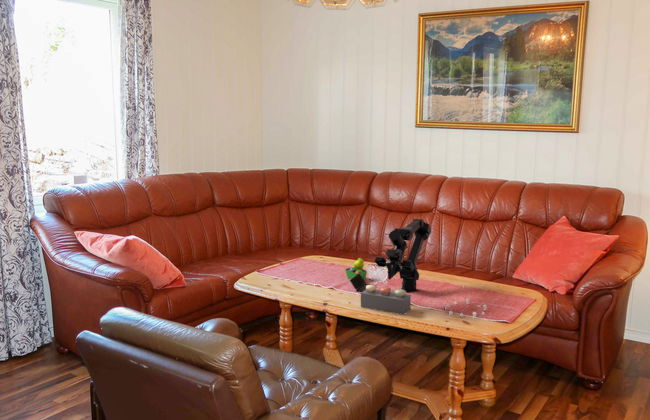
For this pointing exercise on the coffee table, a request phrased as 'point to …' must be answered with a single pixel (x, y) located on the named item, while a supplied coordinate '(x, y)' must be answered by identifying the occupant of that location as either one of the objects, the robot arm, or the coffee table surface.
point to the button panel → (386, 302)
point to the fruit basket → (356, 270)
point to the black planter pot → (359, 283)
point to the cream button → (371, 288)
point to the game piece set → (467, 303)
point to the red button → (385, 290)
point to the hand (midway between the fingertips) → (389, 279)
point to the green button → (400, 293)
